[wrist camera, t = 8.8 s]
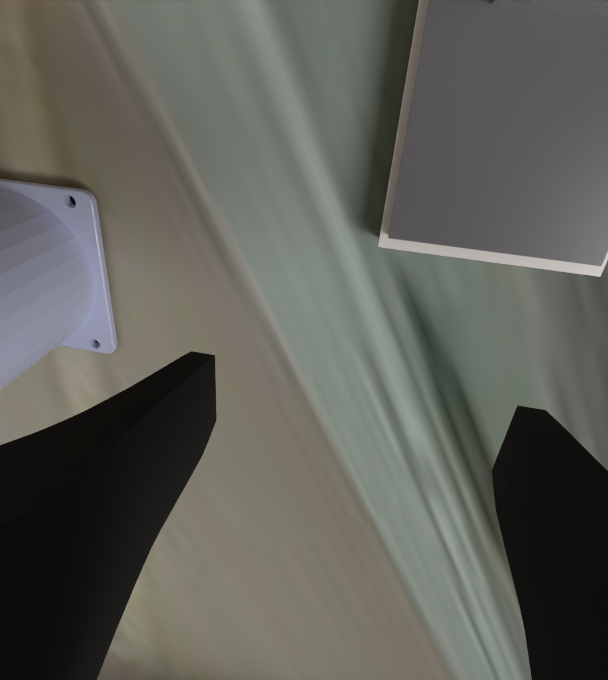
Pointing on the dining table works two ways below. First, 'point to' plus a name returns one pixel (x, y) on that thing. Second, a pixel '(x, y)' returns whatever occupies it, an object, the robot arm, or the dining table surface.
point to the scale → (503, 138)
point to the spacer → (560, 4)
